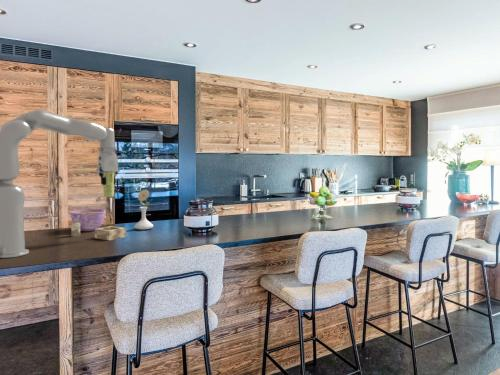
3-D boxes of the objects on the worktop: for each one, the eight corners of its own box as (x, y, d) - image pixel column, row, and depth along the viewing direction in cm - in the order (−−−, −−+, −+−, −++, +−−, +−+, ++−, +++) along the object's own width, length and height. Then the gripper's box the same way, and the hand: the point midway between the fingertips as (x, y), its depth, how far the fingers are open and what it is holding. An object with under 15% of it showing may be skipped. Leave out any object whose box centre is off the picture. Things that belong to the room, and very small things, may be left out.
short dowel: (74, 236, 197) (74, 224, 197) (69, 236, 200) (69, 223, 199) (82, 235, 201) (81, 223, 201) (77, 234, 203) (76, 222, 203)
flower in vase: (131, 228, 222) (130, 189, 220) (148, 226, 229) (147, 188, 228) (140, 231, 212) (139, 190, 210) (157, 229, 220) (157, 189, 218)
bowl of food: (69, 234, 205) (68, 214, 204) (71, 228, 223) (70, 210, 223) (106, 231, 213) (106, 212, 213) (105, 226, 232) (105, 208, 231)
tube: (107, 197, 191) (106, 160, 189) (100, 197, 193) (99, 161, 192) (115, 196, 196) (115, 161, 194) (109, 196, 198) (108, 161, 197)
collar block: (109, 240, 188) (109, 231, 188) (94, 238, 194) (94, 229, 194) (126, 236, 198) (125, 227, 197) (111, 234, 204) (111, 225, 204)
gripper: (98, 150, 183) (99, 185, 185) (124, 151, 198) (125, 183, 199) (88, 150, 187) (90, 185, 188) (115, 151, 202) (116, 183, 203)
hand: (108, 184), depth 194 cm, fingers closed on tube, 5 cm apart
